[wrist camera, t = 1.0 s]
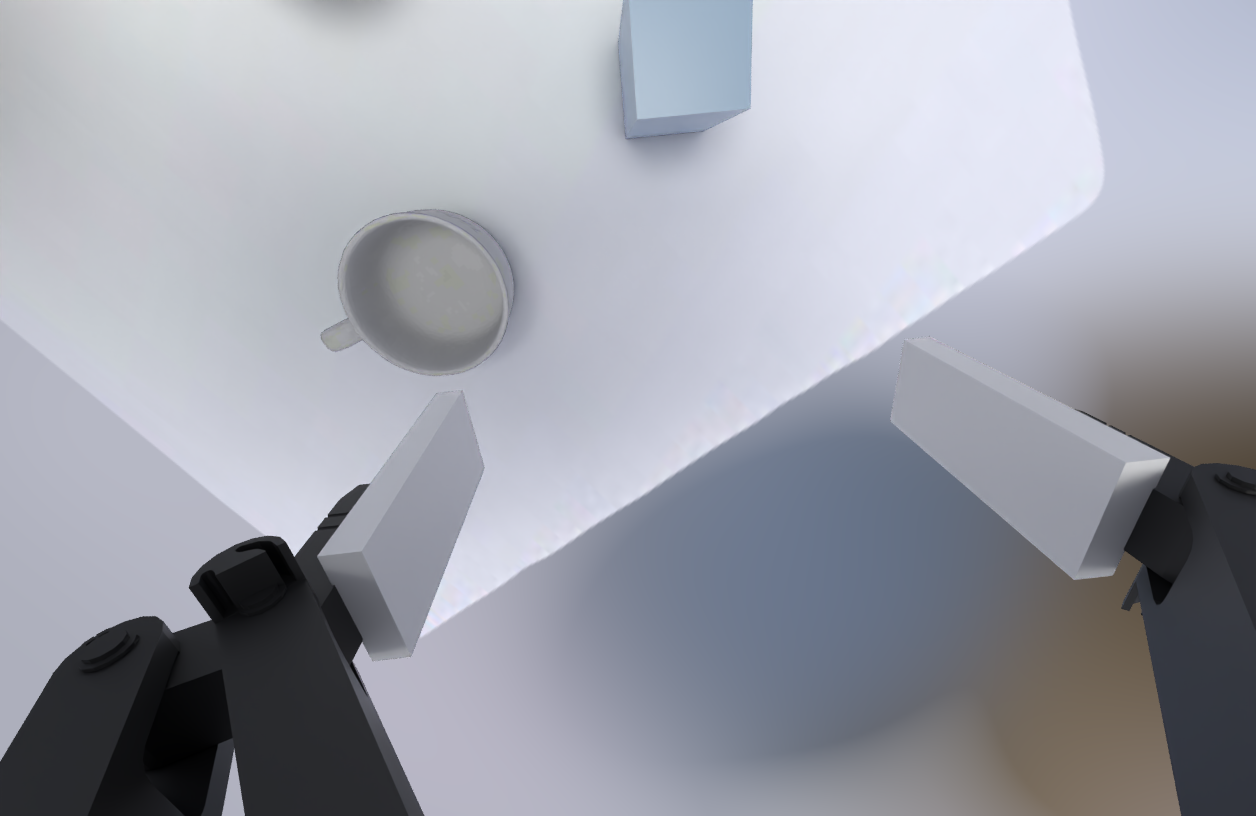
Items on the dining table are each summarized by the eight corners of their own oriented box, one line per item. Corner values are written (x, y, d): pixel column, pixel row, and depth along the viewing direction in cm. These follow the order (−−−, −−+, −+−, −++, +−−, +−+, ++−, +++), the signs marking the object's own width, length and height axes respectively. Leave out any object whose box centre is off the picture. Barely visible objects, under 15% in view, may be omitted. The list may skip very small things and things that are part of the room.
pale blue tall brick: (625, 138, 35) (637, 119, 24) (618, 42, 32) (626, -29, 21) (703, 131, 35) (750, 108, 24) (701, 34, 32) (753, -41, 21)
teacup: (500, 192, 36) (474, 194, 28) (540, 329, 40) (527, 361, 33) (323, 232, 36) (254, 245, 29) (383, 363, 41) (336, 402, 34)
